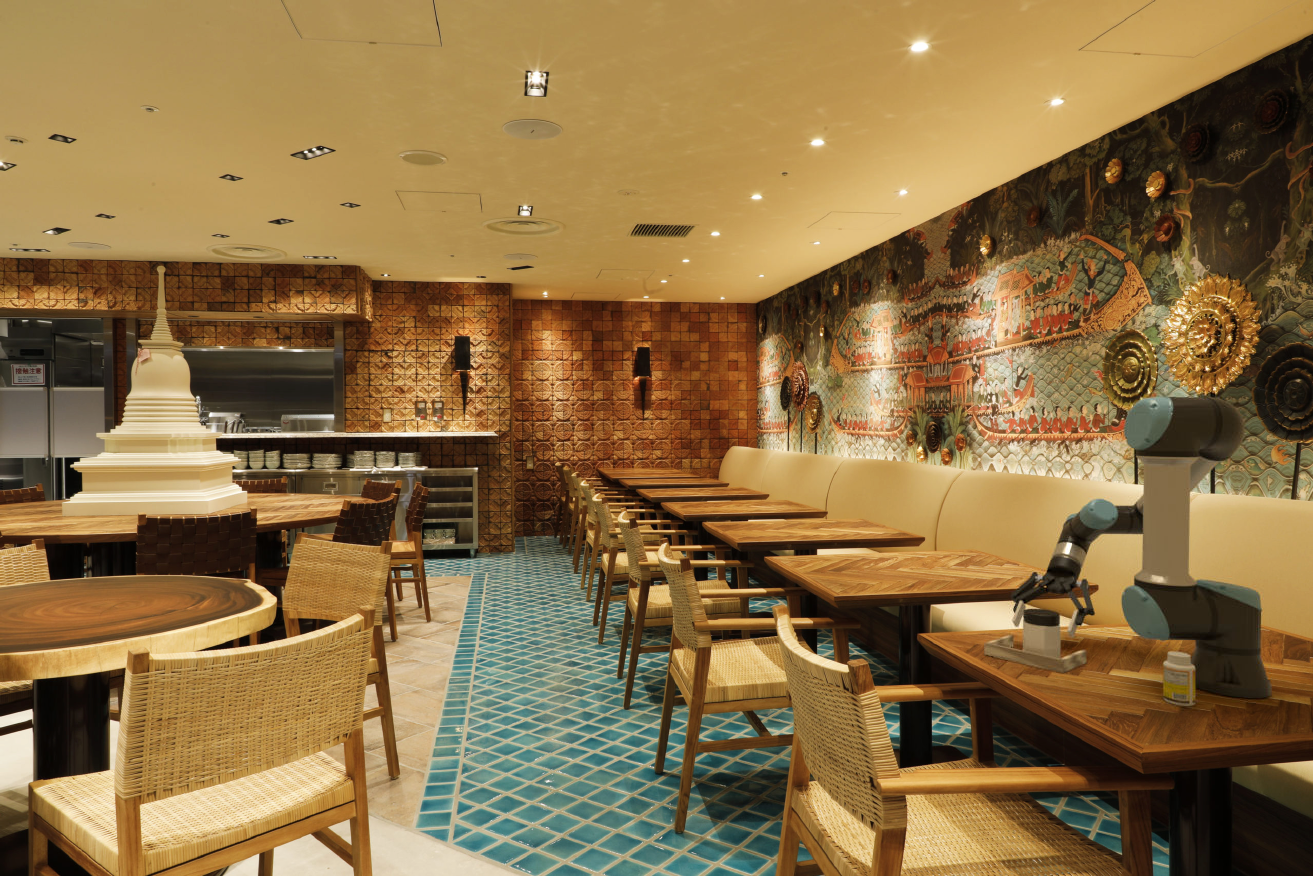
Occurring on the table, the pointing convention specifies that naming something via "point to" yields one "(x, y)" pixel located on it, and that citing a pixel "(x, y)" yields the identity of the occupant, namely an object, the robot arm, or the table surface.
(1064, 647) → the table surface
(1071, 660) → the corral
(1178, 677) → the supplement bottle
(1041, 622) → the jar
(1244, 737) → the table surface
